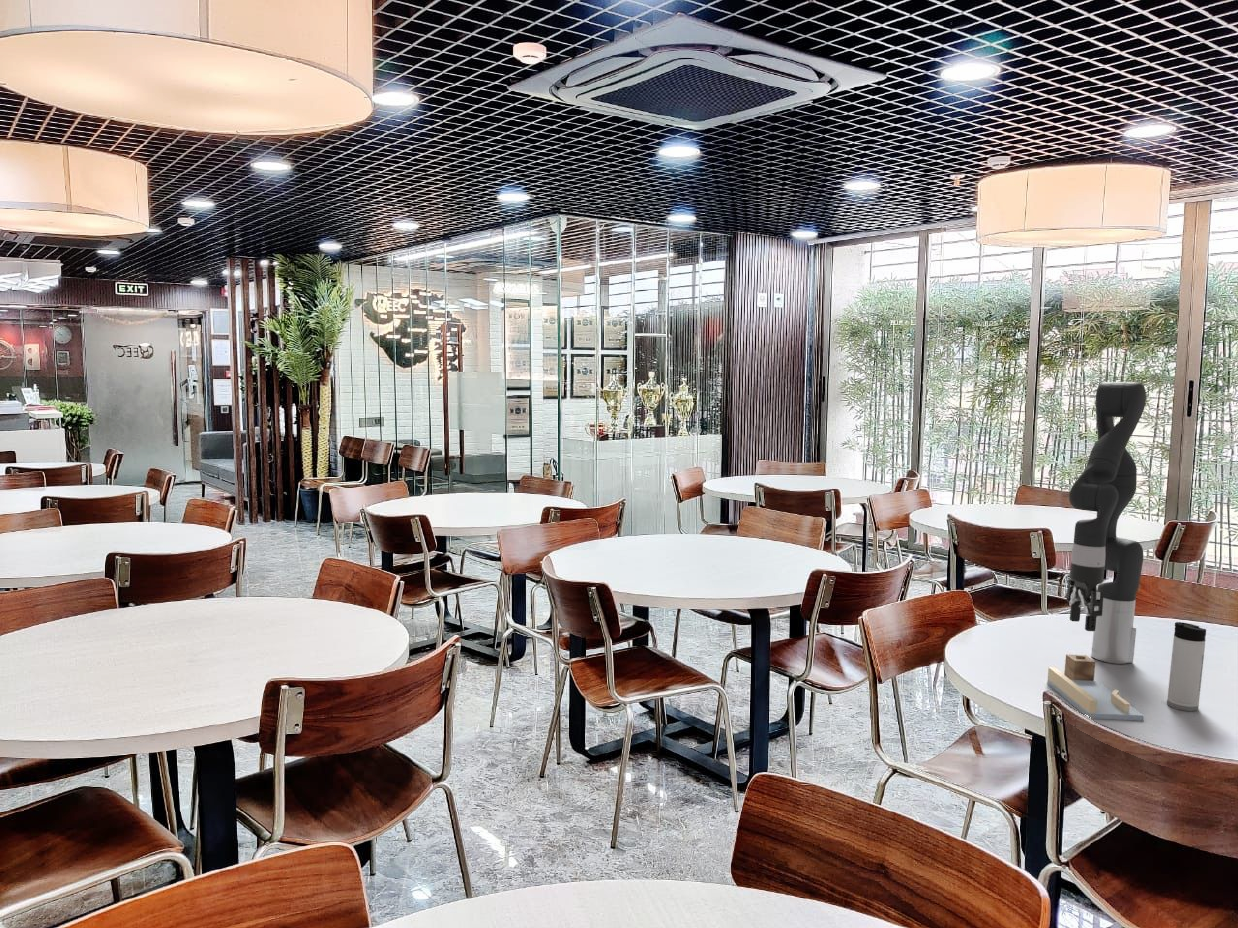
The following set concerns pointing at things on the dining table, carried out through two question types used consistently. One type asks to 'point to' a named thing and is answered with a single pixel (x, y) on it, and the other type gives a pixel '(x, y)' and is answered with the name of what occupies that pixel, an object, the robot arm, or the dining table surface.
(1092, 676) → the walnut box
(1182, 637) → the travel mug
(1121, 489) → the robot arm
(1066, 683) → the board
